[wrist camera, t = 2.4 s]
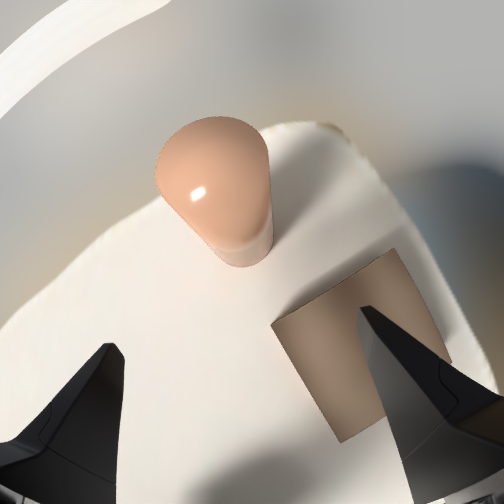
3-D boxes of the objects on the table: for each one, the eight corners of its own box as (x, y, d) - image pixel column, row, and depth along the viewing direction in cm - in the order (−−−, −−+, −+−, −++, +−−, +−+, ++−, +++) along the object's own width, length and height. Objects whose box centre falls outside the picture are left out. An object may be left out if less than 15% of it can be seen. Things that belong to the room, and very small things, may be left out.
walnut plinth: (333, 429, 20) (340, 443, 17) (271, 324, 22) (270, 325, 19) (435, 358, 20) (452, 362, 17) (381, 255, 23) (393, 247, 20)
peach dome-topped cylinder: (230, 278, 24) (181, 238, 11) (202, 227, 25) (141, 151, 13) (284, 247, 24) (291, 177, 12) (253, 197, 25) (234, 101, 13)
